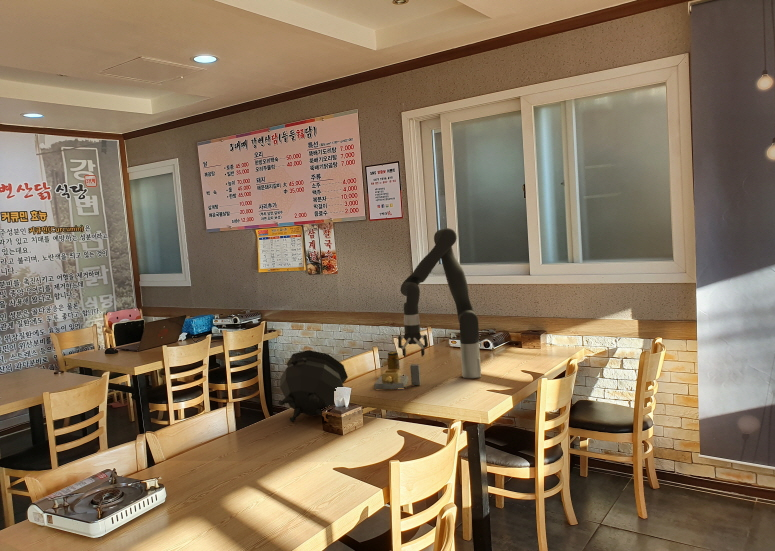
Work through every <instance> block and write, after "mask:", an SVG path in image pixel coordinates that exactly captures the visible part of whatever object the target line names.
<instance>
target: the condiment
mask: <svg viewBox="0 0 775 551" xmlns="http://www.w3.org/2000/svg"><path fill="white" fill-rule="evenodd" d="M400 367H401V366H400V358H399V353H398V352H397V351H390V352H388V353H387V370H400V371H401V369H400ZM401 374H402V375H403V374H404V373H401ZM404 375H406V374H404Z"/></svg>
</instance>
